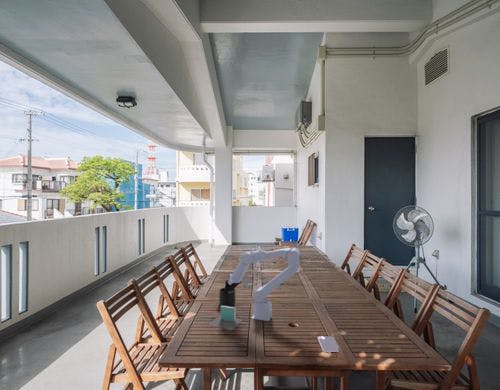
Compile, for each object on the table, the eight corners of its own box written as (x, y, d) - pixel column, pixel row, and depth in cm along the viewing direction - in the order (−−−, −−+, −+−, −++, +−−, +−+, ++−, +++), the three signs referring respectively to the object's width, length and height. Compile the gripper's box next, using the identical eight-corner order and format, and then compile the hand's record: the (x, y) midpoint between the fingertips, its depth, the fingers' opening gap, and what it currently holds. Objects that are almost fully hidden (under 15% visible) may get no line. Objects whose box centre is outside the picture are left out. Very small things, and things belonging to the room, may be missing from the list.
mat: (242, 320, 175) (242, 319, 175) (233, 330, 163) (233, 329, 163) (218, 316, 179) (218, 315, 179) (207, 326, 167) (207, 325, 167)
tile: (235, 320, 173) (235, 307, 173) (234, 321, 172) (234, 308, 172) (221, 318, 176) (221, 305, 176) (220, 319, 174) (220, 306, 174)
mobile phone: (323, 351, 141) (317, 335, 156) (323, 353, 141) (317, 337, 156) (341, 351, 141) (333, 335, 156) (341, 353, 141) (333, 337, 156)
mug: (217, 309, 191) (217, 293, 191) (220, 301, 203) (221, 287, 203) (233, 309, 190) (233, 294, 190) (236, 302, 202) (236, 287, 202)
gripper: (238, 265, 189) (227, 284, 191) (228, 269, 176) (216, 290, 178) (248, 272, 187) (236, 291, 189) (239, 277, 174) (226, 298, 176)
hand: (227, 291), depth 183 cm, fingers open, 7 cm apart
